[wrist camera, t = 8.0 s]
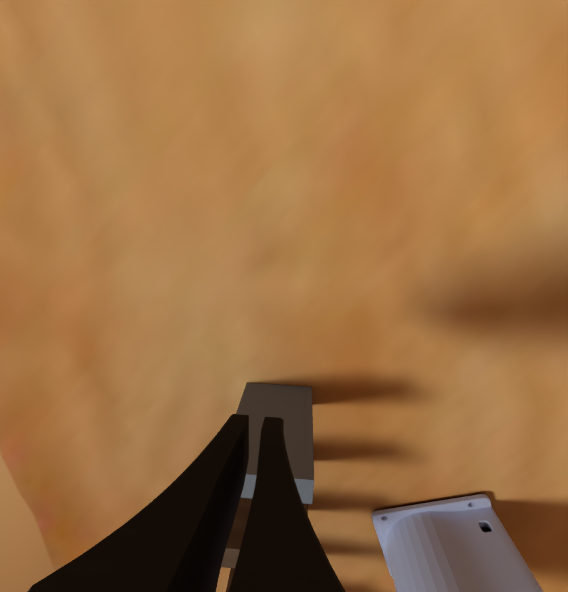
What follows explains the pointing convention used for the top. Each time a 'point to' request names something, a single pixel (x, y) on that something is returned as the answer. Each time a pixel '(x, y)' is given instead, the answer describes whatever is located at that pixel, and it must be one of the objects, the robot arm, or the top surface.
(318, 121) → the top surface
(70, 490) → the top surface
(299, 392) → the domino
